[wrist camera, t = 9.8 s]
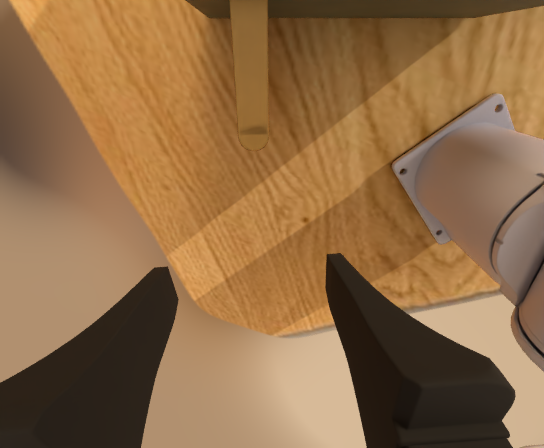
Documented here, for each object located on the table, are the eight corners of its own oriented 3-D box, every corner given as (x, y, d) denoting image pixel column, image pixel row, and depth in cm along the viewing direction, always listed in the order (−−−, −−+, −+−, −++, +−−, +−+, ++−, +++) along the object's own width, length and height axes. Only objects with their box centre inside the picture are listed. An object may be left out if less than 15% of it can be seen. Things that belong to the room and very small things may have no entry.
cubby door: (444, 118, 20) (549, 154, 13) (218, 121, 19) (195, 160, 12) (478, 0, 16) (648, -42, 9) (207, 0, 16) (164, -44, 9)
